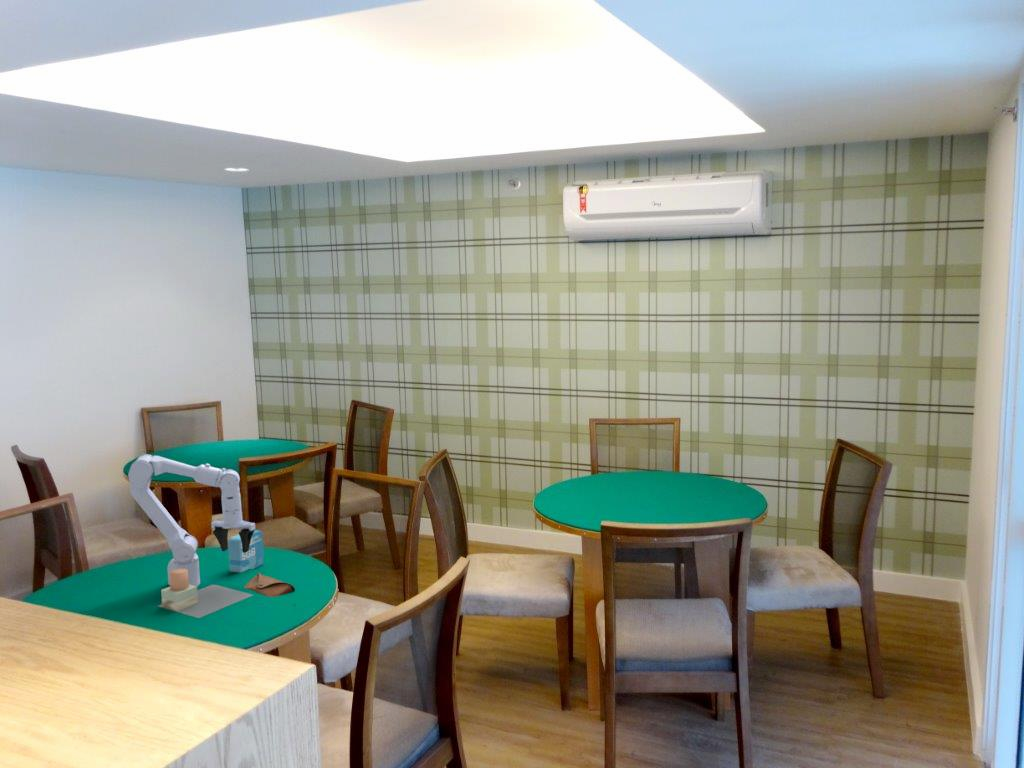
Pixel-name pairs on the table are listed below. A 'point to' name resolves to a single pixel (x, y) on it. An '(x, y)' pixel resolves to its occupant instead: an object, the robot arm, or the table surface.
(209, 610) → the slate board
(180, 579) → the terracotta cylinder
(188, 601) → the birch base slab
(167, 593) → the sage top slab
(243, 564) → the data package
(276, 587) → the sunglasses case
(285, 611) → the table surface
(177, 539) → the robot arm
